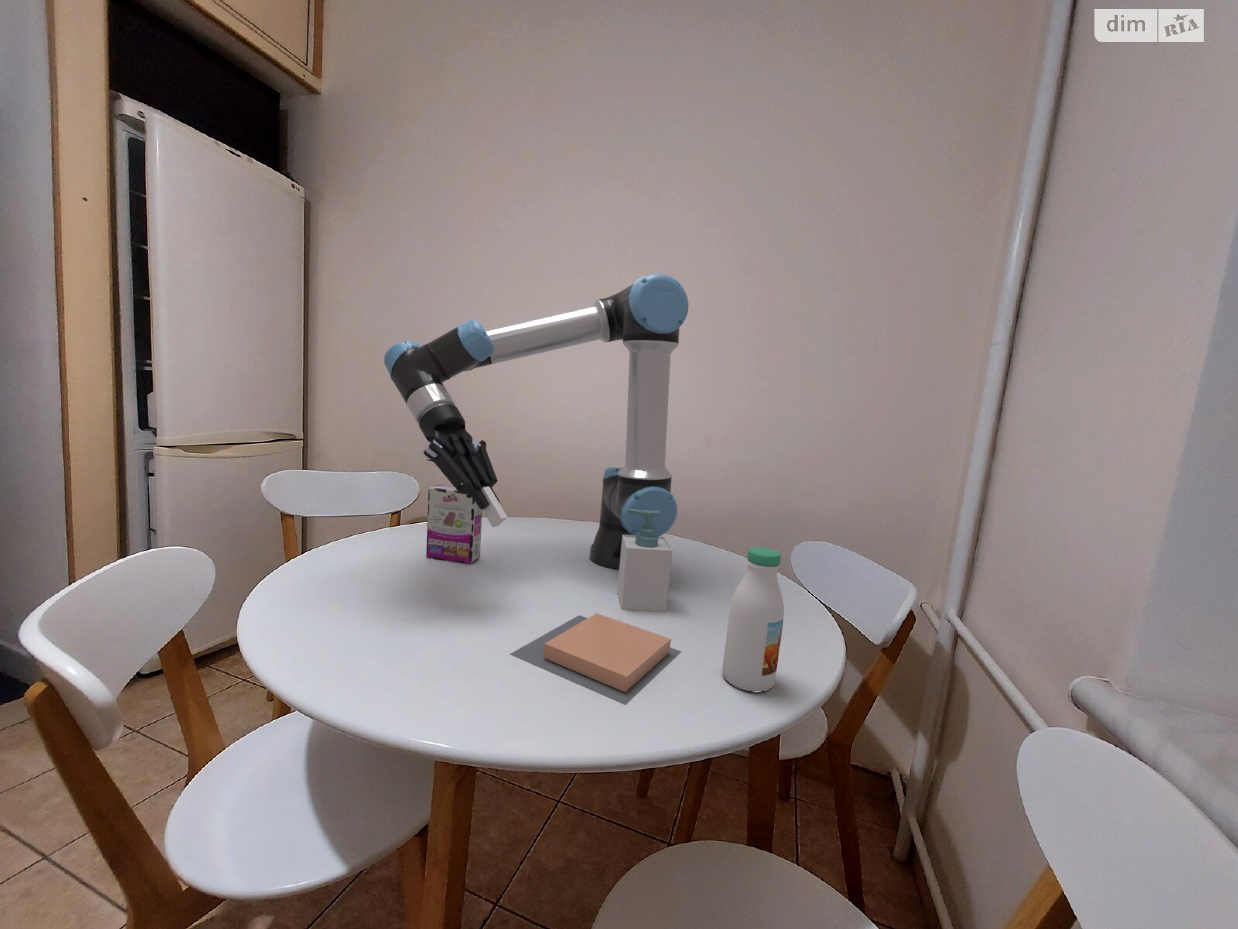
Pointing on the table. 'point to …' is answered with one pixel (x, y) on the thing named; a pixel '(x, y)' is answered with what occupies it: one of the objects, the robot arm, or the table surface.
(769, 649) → the milk bottle
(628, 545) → the soap bottle
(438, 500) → the candy bar box
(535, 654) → the mat
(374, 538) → the table surface
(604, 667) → the tile
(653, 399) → the robot arm
